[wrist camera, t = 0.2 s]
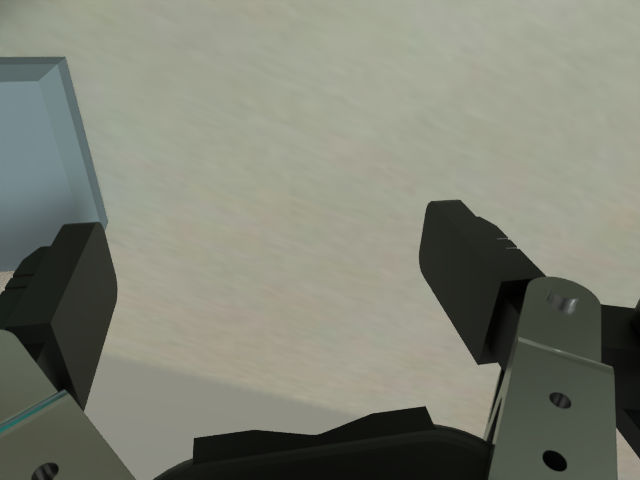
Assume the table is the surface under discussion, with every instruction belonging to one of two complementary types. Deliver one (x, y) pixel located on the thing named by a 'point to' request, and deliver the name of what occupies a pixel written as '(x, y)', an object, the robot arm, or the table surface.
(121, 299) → the table surface
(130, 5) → the table surface
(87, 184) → the housing
